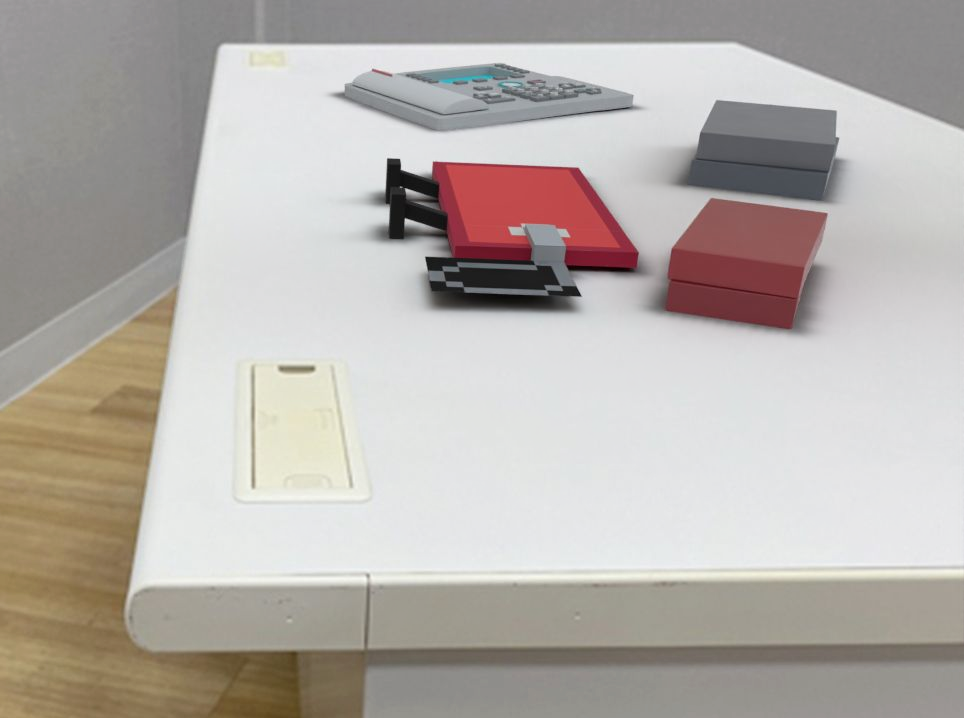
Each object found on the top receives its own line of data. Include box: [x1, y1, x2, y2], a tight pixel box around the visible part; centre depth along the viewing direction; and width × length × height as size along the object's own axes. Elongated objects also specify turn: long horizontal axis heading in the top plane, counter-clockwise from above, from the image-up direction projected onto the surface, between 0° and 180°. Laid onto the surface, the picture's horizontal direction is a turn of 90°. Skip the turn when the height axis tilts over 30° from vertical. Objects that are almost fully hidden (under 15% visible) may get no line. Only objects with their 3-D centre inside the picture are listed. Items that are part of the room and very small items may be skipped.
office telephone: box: [344, 62, 634, 131], centre depth 118 cm, size 23×3×20 cm
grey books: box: [687, 99, 840, 202], centre depth 96 cm, size 14×10×4 cm
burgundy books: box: [664, 197, 829, 330], centre depth 71 cm, size 12×8×4 cm, turn 159°
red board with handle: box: [384, 157, 640, 298], centre depth 80 cm, size 30×3×15 cm
